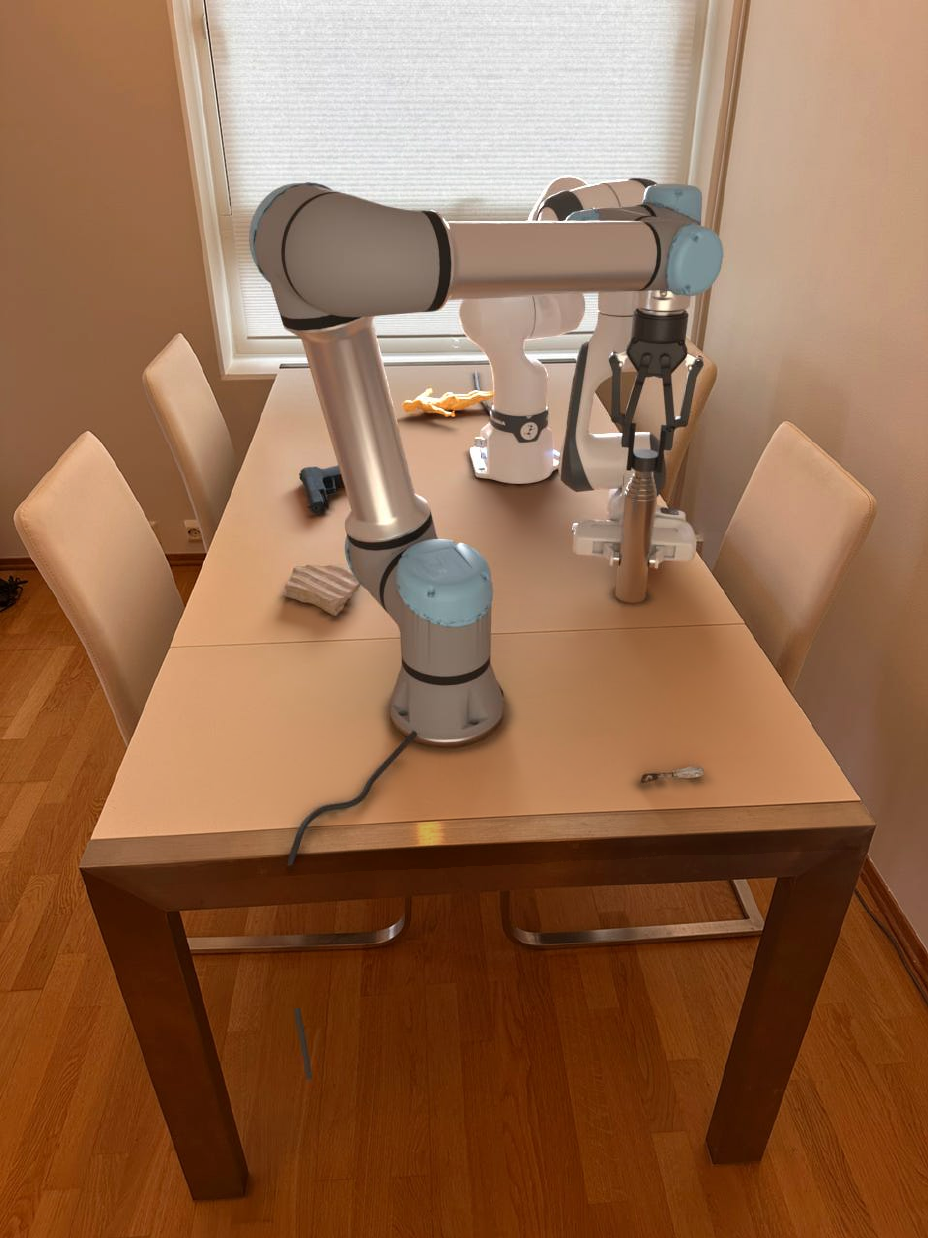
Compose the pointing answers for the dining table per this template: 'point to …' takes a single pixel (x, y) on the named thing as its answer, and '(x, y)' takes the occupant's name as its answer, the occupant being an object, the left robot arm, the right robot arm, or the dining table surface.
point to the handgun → (320, 486)
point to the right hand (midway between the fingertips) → (634, 563)
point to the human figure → (445, 402)
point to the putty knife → (674, 774)
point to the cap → (644, 460)
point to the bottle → (636, 537)
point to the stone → (322, 586)
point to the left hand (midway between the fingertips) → (644, 467)
